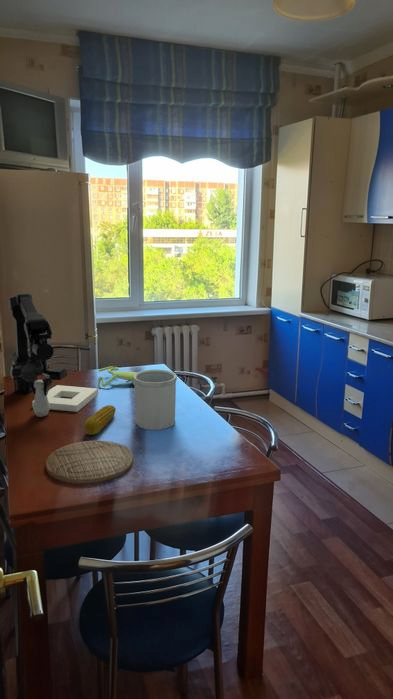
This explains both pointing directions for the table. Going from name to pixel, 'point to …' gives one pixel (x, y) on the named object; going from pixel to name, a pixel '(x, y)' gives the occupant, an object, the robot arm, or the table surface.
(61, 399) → the socket board
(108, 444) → the trivet
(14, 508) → the table surface
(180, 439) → the table surface
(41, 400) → the salt shaker
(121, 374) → the figurine
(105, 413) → the food
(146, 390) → the utensil holder
